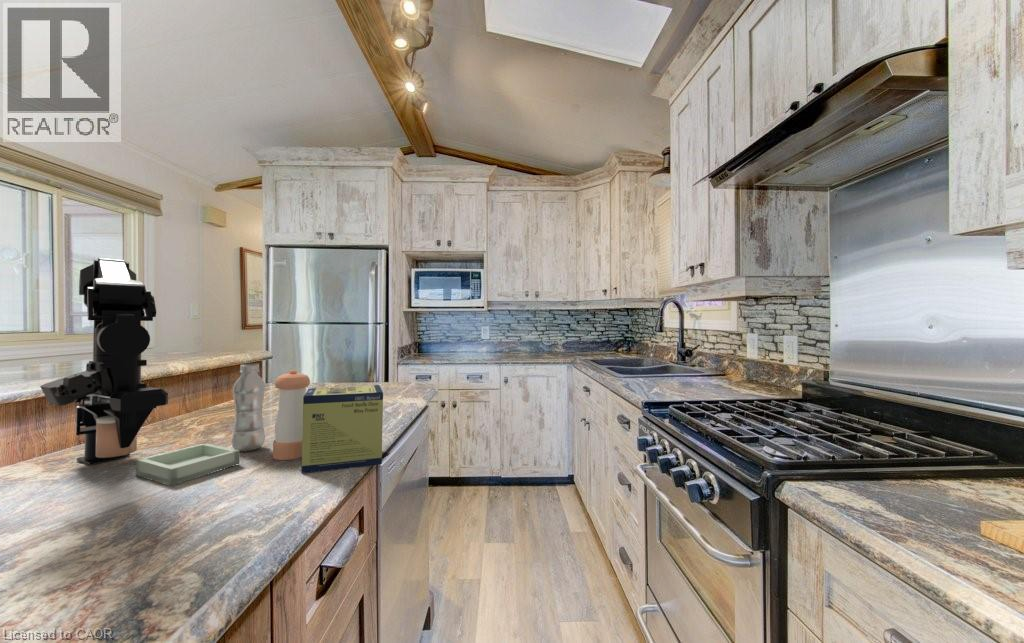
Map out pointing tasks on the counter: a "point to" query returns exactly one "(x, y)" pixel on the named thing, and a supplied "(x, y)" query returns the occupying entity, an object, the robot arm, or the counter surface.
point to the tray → (186, 463)
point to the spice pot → (110, 439)
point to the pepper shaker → (290, 415)
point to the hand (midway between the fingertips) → (116, 445)
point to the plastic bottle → (248, 409)
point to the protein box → (342, 428)
